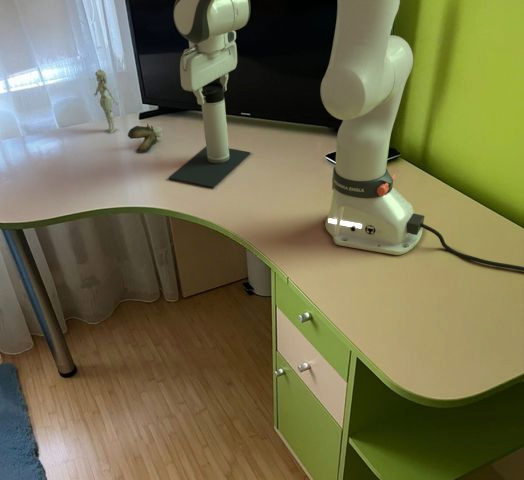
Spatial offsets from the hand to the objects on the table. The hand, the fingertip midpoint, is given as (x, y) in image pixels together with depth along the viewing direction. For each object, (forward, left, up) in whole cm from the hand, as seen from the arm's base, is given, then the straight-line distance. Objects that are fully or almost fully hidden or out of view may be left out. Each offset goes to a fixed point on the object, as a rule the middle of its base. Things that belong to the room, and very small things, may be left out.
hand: (212, 97), depth 147 cm
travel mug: (0, 0, -17) cm, 17 cm away
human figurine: (+43, -2, -18) cm, 47 cm away
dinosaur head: (+25, +2, -18) cm, 31 cm away
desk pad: (0, +4, -18) cm, 18 cm away
